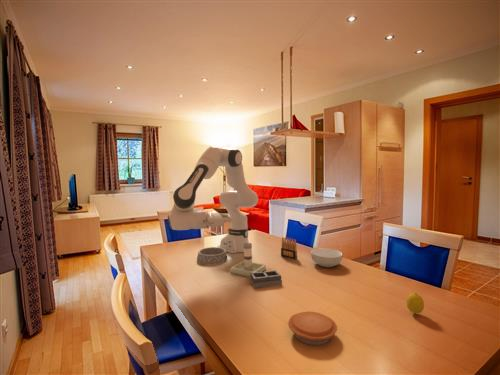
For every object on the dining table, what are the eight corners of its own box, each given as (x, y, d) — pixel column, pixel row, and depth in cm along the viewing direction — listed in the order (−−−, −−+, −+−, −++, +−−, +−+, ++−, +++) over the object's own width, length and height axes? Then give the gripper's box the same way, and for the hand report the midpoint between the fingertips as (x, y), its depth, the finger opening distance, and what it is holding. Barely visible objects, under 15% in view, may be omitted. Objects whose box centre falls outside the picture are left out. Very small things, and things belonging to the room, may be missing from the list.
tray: (230, 273, 145) (230, 267, 145) (242, 265, 156) (242, 260, 155) (254, 278, 138) (254, 272, 138) (265, 270, 149) (265, 265, 148)
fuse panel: (254, 288, 127) (254, 279, 127) (249, 280, 136) (249, 272, 135) (281, 284, 130) (281, 276, 130) (275, 277, 139) (275, 269, 139)
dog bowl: (229, 255, 176) (228, 246, 175) (223, 265, 158) (223, 256, 157) (202, 254, 178) (202, 246, 177) (193, 264, 159) (193, 255, 159)
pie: (328, 320, 100) (328, 307, 100) (344, 349, 84) (344, 333, 84) (285, 322, 100) (285, 308, 99) (292, 350, 84) (292, 334, 84)
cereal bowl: (344, 271, 145) (344, 258, 145) (311, 269, 149) (311, 256, 148) (340, 260, 162) (340, 248, 161) (310, 259, 165) (310, 247, 165)
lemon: (407, 308, 107) (408, 288, 107) (424, 313, 104) (425, 292, 103) (404, 314, 103) (405, 293, 102) (422, 319, 99) (423, 297, 99)
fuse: (242, 270, 146) (242, 244, 145) (246, 268, 150) (246, 242, 149) (249, 272, 144) (249, 245, 143) (253, 269, 148) (253, 243, 147)
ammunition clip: (297, 258, 166) (297, 238, 165) (295, 259, 164) (295, 239, 163) (282, 255, 173) (282, 236, 172) (280, 255, 172) (280, 236, 171)
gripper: (204, 217, 129) (233, 215, 132) (200, 209, 148) (226, 208, 152) (204, 230, 129) (234, 228, 133) (200, 221, 149) (226, 219, 152)
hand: (229, 217), depth 142 cm, fingers open, 8 cm apart
